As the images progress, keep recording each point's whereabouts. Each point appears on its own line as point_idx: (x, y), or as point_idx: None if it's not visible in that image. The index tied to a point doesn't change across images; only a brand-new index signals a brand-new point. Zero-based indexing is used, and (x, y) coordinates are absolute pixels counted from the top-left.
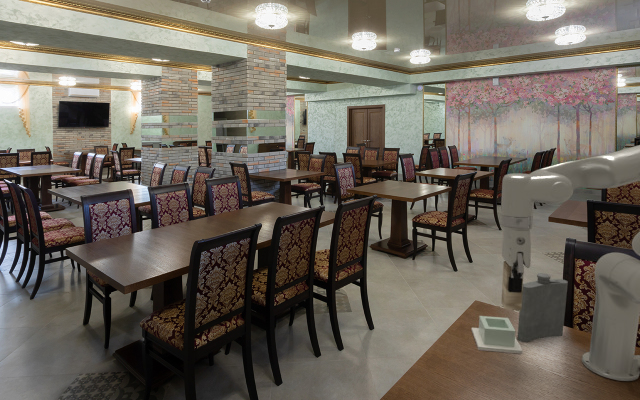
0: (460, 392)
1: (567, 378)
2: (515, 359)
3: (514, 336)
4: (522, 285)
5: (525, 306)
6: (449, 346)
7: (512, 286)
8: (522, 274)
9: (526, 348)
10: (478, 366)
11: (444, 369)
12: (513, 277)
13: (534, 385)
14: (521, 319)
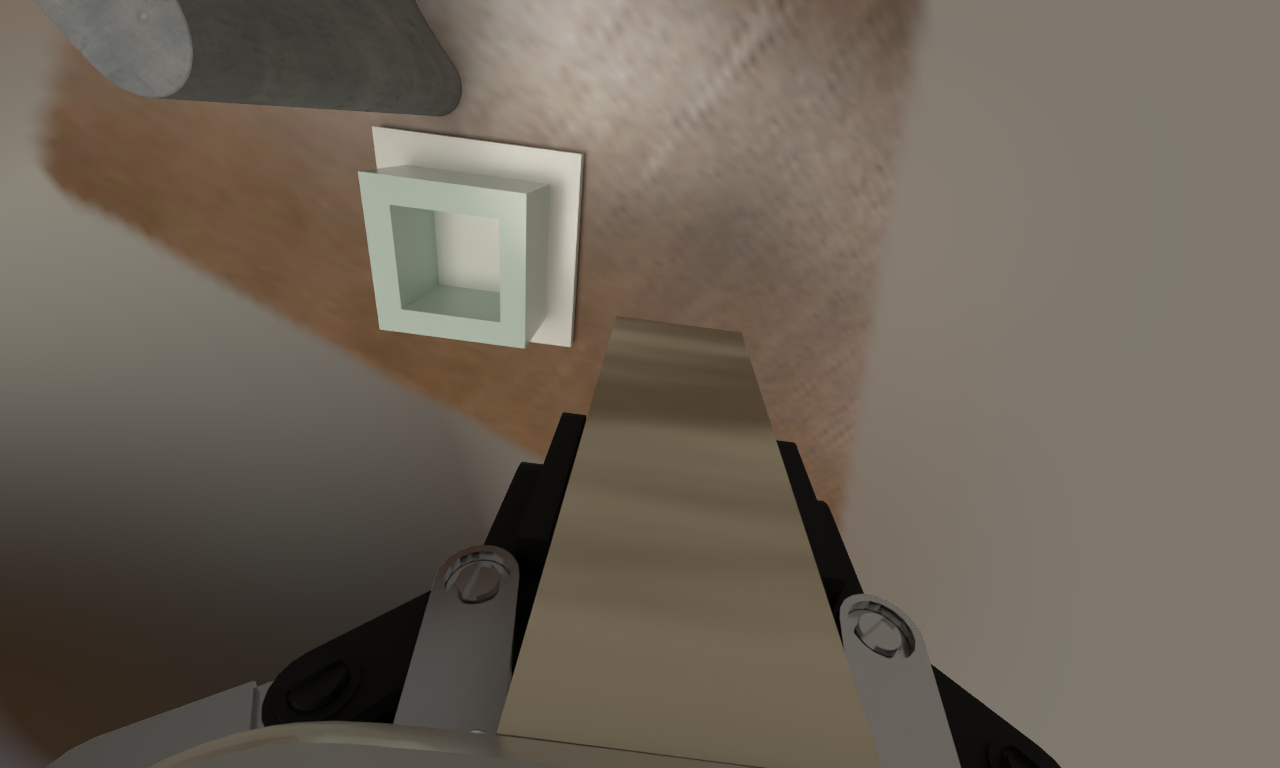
0: (838, 469)
1: (792, 6)
2: (634, 208)
3: (535, 193)
4: (783, 471)
5: (338, 80)
6: None
7: None
8: (930, 679)
9: (525, 105)
10: None
11: None
12: None
13: (829, 207)
14: (389, 104)
